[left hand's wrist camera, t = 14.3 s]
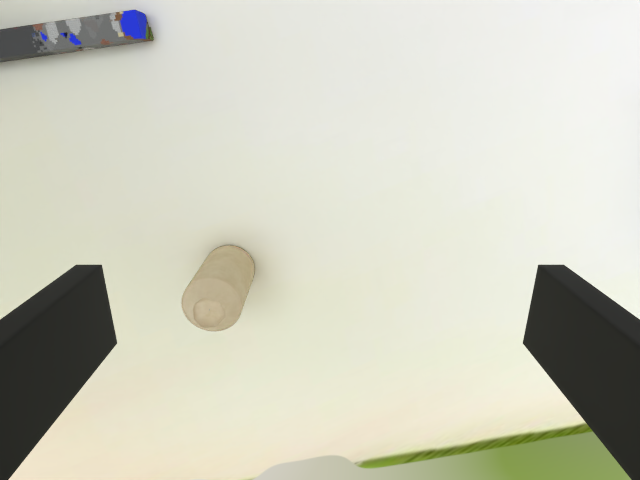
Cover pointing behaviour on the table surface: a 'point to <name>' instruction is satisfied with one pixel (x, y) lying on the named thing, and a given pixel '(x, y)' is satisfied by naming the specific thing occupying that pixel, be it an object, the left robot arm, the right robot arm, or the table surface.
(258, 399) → the table surface
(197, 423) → the table surface
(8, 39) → the blue-tipped grey rod
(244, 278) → the candle
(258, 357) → the table surface
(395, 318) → the table surface
